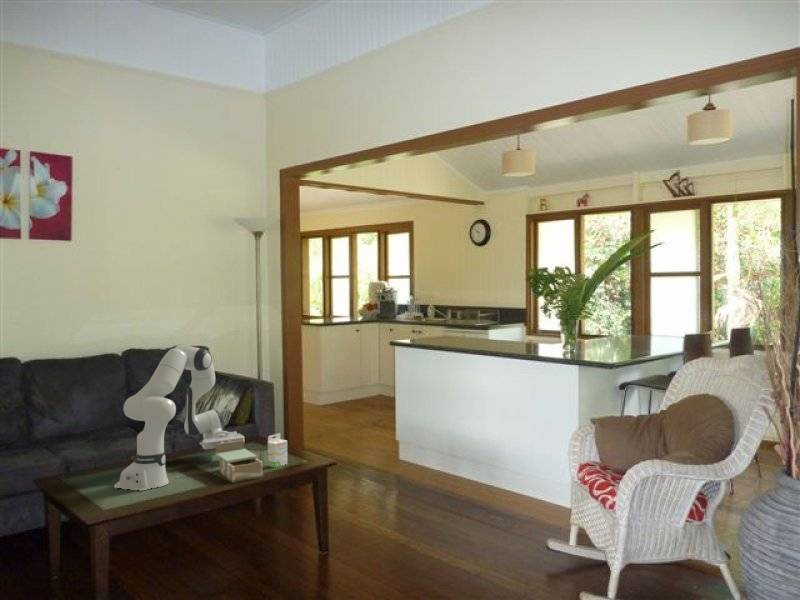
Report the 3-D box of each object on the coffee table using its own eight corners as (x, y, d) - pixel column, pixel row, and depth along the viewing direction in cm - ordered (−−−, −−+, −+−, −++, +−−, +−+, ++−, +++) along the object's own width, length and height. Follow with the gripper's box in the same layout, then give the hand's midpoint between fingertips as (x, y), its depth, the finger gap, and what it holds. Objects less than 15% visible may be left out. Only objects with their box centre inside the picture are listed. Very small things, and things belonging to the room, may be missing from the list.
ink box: (274, 468, 310) (274, 437, 310) (267, 466, 313) (266, 436, 313) (288, 464, 317) (287, 433, 317) (281, 462, 320) (280, 432, 320)
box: (220, 473, 304) (219, 458, 303) (249, 468, 311) (248, 453, 311) (232, 482, 288) (232, 467, 288) (262, 477, 296) (262, 461, 296)
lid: (215, 454, 309) (214, 444, 309) (243, 449, 317) (243, 439, 317) (227, 462, 294) (226, 451, 294) (257, 457, 302) (256, 447, 302)
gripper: (198, 436, 320) (206, 441, 308) (238, 430, 331) (248, 435, 320) (198, 449, 320) (206, 455, 309) (239, 443, 331) (248, 448, 320)
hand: (228, 445), depth 314 cm, fingers closed
